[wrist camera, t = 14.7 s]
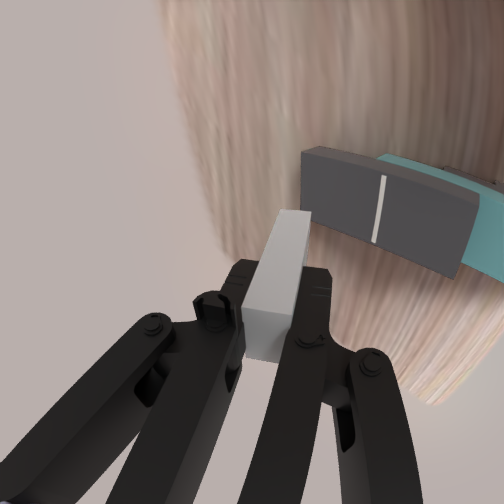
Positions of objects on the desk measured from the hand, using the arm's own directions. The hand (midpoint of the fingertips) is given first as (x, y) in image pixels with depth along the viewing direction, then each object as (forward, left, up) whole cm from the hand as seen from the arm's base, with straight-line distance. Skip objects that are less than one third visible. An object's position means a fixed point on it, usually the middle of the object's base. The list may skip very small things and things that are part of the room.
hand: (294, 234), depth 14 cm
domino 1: (0, 0, -8) cm, 8 cm away
